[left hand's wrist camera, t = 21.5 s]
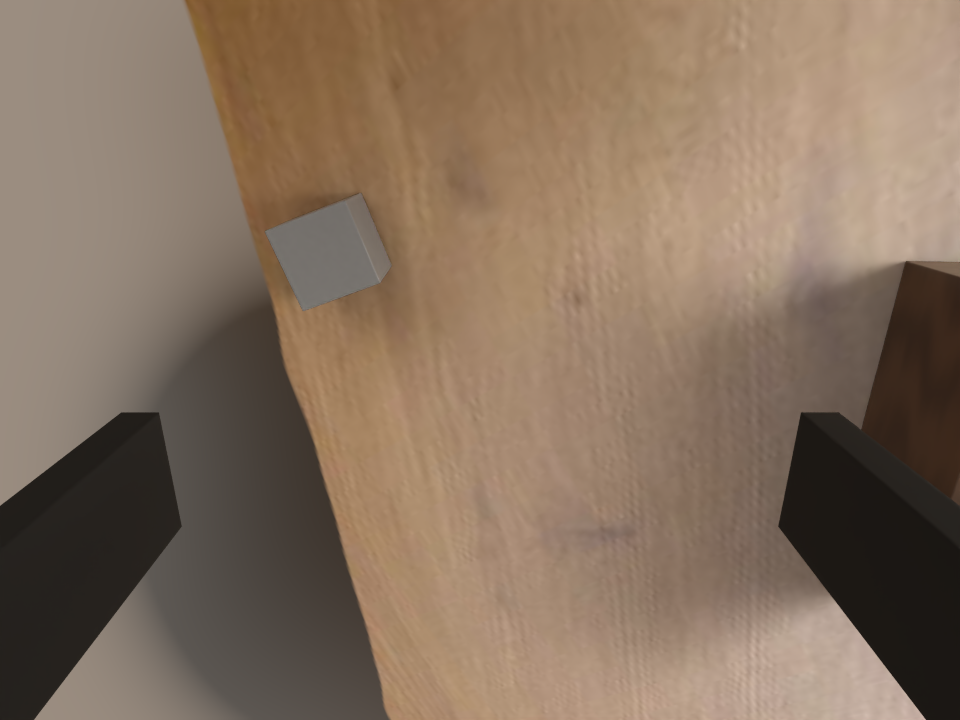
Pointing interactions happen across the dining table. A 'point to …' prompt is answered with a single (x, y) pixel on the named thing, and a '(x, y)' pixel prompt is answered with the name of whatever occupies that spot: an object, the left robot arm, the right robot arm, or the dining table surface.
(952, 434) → the plank
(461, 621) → the dining table surface
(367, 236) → the grey block
